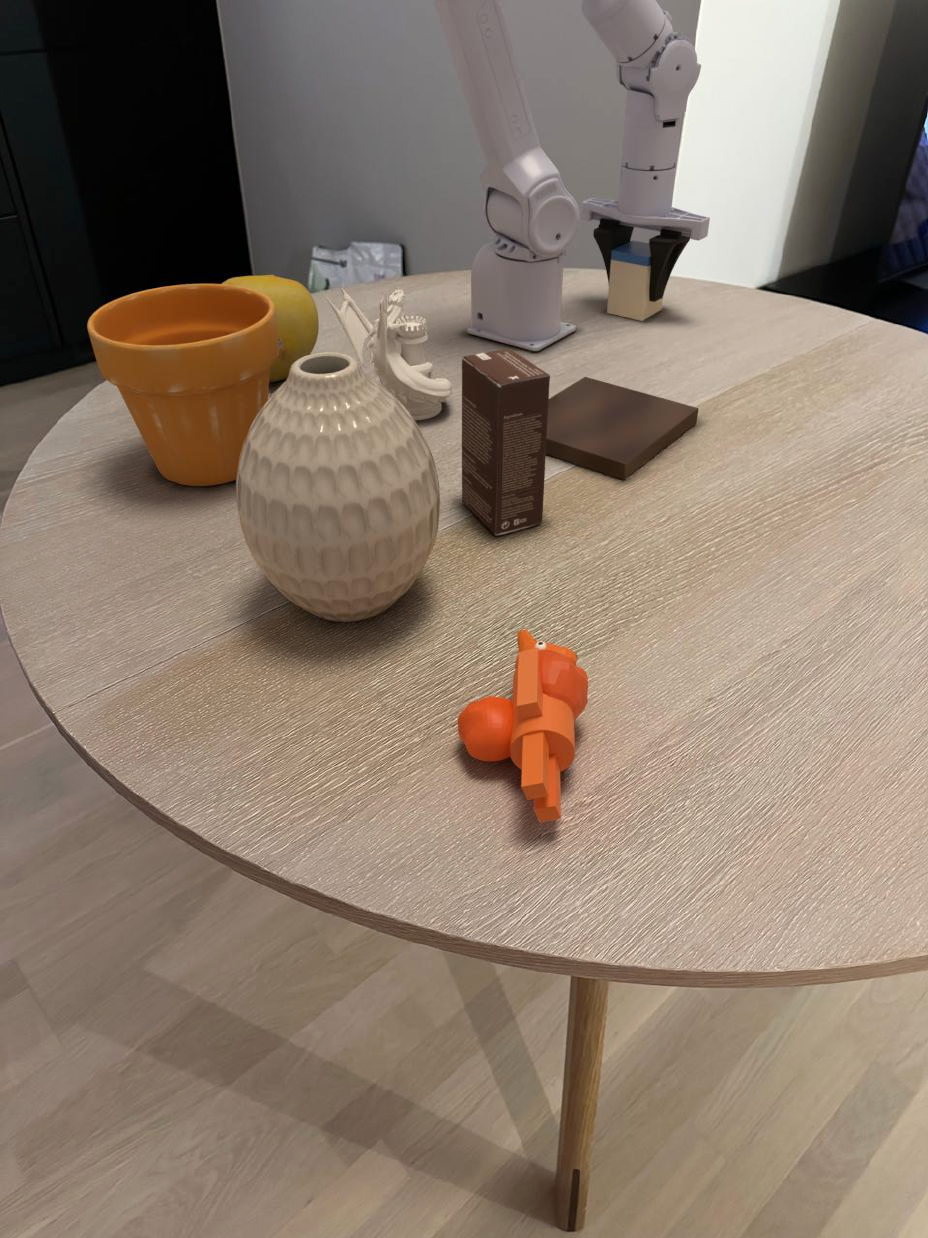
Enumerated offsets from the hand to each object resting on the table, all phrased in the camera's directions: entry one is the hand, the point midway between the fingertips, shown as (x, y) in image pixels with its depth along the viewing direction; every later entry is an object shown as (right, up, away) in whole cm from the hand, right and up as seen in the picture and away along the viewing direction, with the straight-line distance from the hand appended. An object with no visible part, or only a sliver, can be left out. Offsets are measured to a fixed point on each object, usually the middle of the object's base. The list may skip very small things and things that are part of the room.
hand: (636, 294), depth 106 cm
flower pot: (-41, -24, -26) cm, 54 cm away
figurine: (-26, -18, -18) cm, 36 cm away
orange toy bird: (-16, -45, -54) cm, 72 cm away
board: (-7, -20, -23) cm, 31 cm away
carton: (0, -2, +1) cm, 2 cm away
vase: (-27, -36, -42) cm, 61 cm away
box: (-17, -29, -33) cm, 47 cm away
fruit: (-39, -12, -11) cm, 43 cm away
